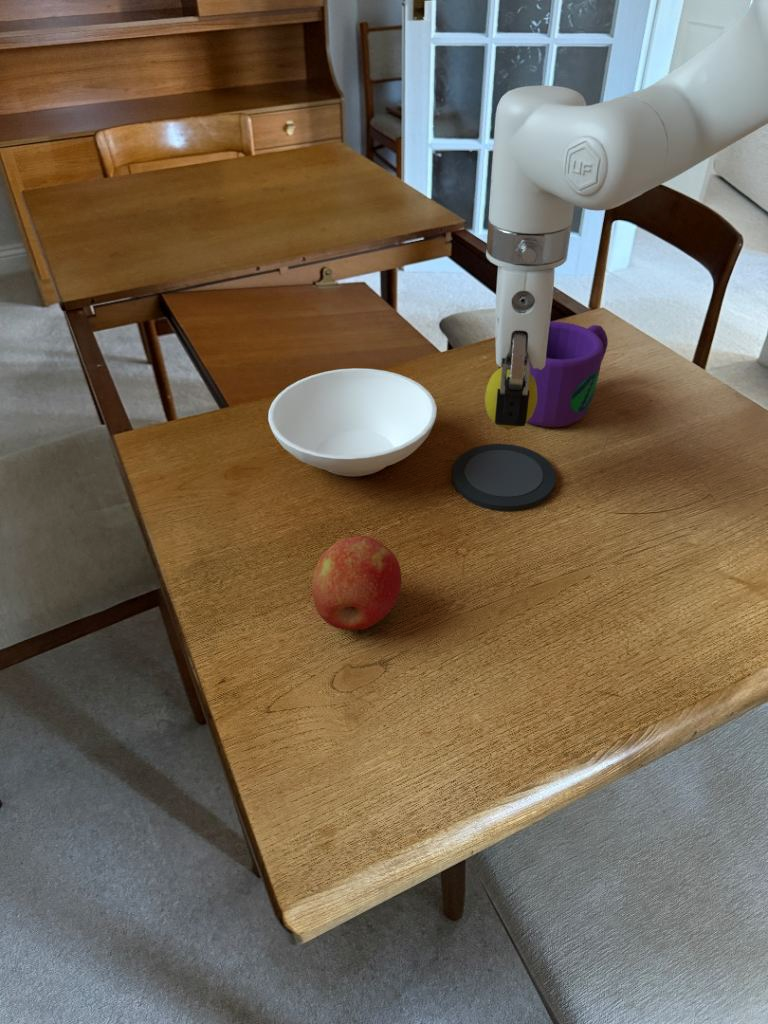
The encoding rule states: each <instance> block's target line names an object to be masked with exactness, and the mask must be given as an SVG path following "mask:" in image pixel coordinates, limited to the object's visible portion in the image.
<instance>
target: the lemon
mask: <svg viewBox="0 0 768 1024" xmlns="http://www.w3.org/2000/svg"><path fill="white" fill-rule="evenodd" d="M501 374H502V368H500V369H499V368H497V369H496V371H495V372H494V373H492V375H490V378H489V380H488V382H487V385H486V389H485V393H484V407H485V410H486V414H487V415H488V418H489V419H490V420H491V421H492V423H494V424H495V425H496V426H498V427H500V428H503V429H504V430H507V431H510V430H512V429H517V428H521V426H509V425H497V424H496V423H495V414H496V402H497V391H498V389H500V386H501ZM523 376H524V372H523ZM507 377H510V370H508V369H507ZM506 379H507V378H506ZM528 391H529V401H528V409H527V418H526V423H528V422H527V421H528V420H529V419H530V418H531V416H532V415H533V413H534V410H535V407H536V404H537V387H536V382H535V379H534V377H533V376H532V374H531V373H529V384H528Z"/></svg>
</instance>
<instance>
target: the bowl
mask: <svg viewBox="0 0 768 1024" xmlns="http://www.w3.org/2000/svg"><path fill="white" fill-rule="evenodd" d="M437 411H438V408H437V404H436V400H435V398H434V397H433V396H432V394H431V392H430V391H429V390H428V389H427V388H426V387H425V386H423V385H422V384H420V383H419V382H417V381H416V380H414V379H412V378H410V377H407V376H404V375H402V374H399V373H396V372H391V371H387V370H382V369H375V368H361V367H360V368H359V367H358V368H357V367H356V368H355V367H354V368H353V367H352V368H341V369H340V368H339V369H333V370H328V371H323V372H320V373H316V374H312V375H310V376H306V377H305V378H302V379H299V380H297V381H296V382H293V383H292V384H290V385H288V386H287V387H285V389H283V390H282V391H281V392H279V393H278V394H277V396H276V397H275V398H274V400H273V401H272V402H271V405H270V407H269V409H268V418H267V421H268V423H269V424H268V425H269V427H270V429H271V432H272V435H273V436H274V438H276V440H277V442H278V443H279V444H280V445H281V447H282V448H283V449H284V450H286V451H287V452H288V453H289V454H291V456H293V457H294V458H296V459H297V460H298V461H300V462H302V463H304V464H306V465H308V466H310V467H314V468H317V469H320V470H324V471H327V472H329V473H330V474H334V475H338V476H343V477H344V476H345V477H363V476H367V475H368V476H369V475H372V474H376V473H377V472H380V471H382V470H384V469H385V468H386V467H388V466H391V465H394V464H397V463H399V462H401V461H402V460H404V459H407V457H409V456H411V454H413V453H414V452H415V451H417V449H419V447H420V446H422V444H423V443H424V442H425V440H427V438H428V437H429V435H430V433H431V432H432V429H433V426H434V425H435V422H436V420H437Z"/></svg>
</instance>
